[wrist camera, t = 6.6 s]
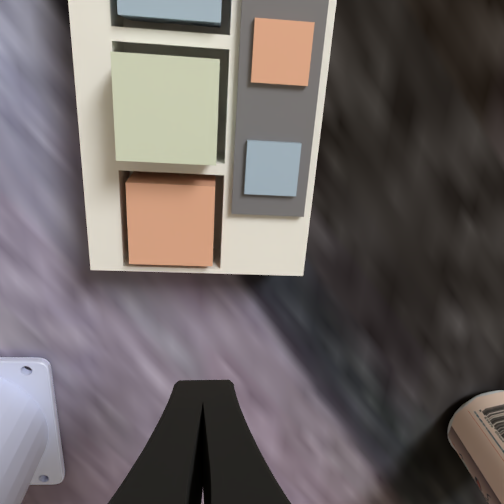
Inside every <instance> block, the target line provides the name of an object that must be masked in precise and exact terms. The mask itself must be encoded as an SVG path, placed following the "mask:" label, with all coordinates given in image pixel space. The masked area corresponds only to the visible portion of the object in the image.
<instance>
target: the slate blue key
mask: <svg viewBox="0 0 504 504" xmlns="http://www.w3.org/2000/svg"><path fill="white" fill-rule="evenodd" d="M221 5H222V0H117V12H118V15H120V16H122V17H124V18H127V19H129V20H131V21H141V22H154V23H167V24H179V25H192V26H205V27H218V28H220V26H221Z"/></svg>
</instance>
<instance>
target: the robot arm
mask: <svg viewBox="0 0 504 504" xmlns="http://www.w3.org/2000/svg"><path fill="white" fill-rule="evenodd" d="M24 366H28V367H30V368H31V369H32V370H28V369H26V368H25V367H24ZM45 475H46V476H45ZM64 476H65V467H64V459H63V452H62V444H61V437H60V429H59V422H58V415H57V407H56V400H55V392H54V385H53V377H52V370H51V365H50V363H49V362H48V361H47V360H46V359H44V358H36V357H0V504H21V503H22V501H23V499H24V496H25V494H26V492H27V490H28V487H29V485H54V484H59V483H61V482H62V481H63V479H64ZM202 490H203V492H204V504H291V503H290V501H289V500H288V499H287V497H286V495H285V494H284V492H283V491H282V489H281V487H280V486H279V484H278V483H277V481H276V479H275V478H274V476H273V474H272V472H271V471H270V469H269V467H268V465H267V464H266V462H265V460H264V458H263V456H262V454H261V452H260V451H259V449H258V447H257V444H256V442H255V440H254V438H253V436H252V434H251V432H250V430H249V428H248V426H247V423H246V421H245V419H244V416H243V414H242V411H241V409H240V406H239V403H238V400H237V397H236V393H235V390H234V384H233V383H232V382H231V381H230V380H185V381H178V382H177V383H176V384H174V388H173V391H172V394H171V396H170V399H169V401H168V403H167V406H166V408H165V410H164V412H163V414H162V416H161V418H160V420H159V422H158V424H157V426H156V428H155V430H154V431H153V433H152V435H151V437H150V439H149V441H148V442H147V444H146V446H145V448H144V449H143V451H142V453H141V454H140V456H139V458H138V459H137V461H136V462H135V464H134V465H133V467H132V469H131V470H130V472H129V473H128V475H127V477H126V478H125V480H124V481H123V483H122V484H121V486H120V487H119V488H118V490H117V491H116V493H115V494H114V496H113V497H112V498H111V500H110V501H109V503H108V504H201V499H202Z"/></svg>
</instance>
